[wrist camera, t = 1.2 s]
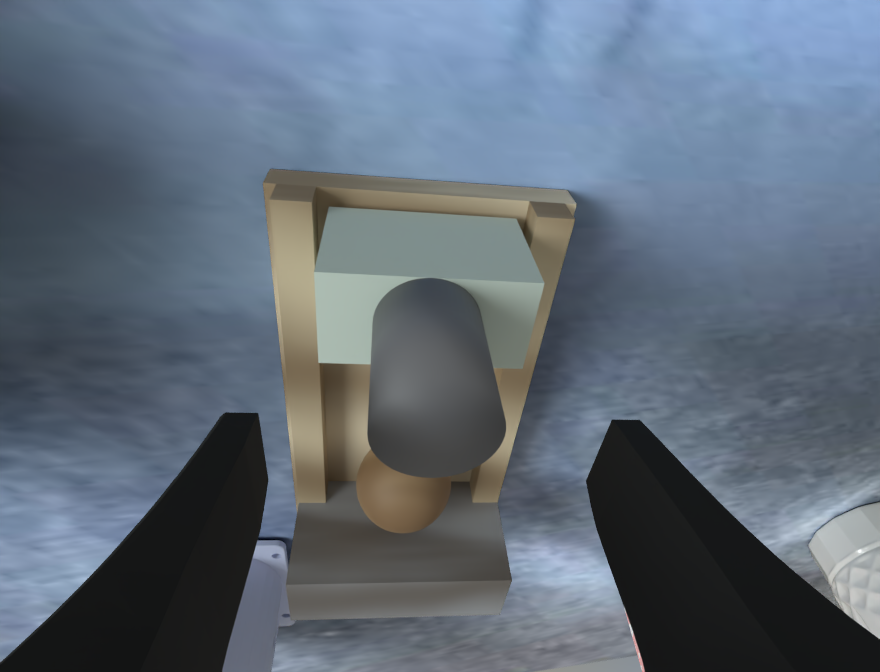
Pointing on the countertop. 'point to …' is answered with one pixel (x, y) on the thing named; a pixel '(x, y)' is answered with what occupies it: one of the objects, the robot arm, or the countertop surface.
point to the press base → (346, 414)
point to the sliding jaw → (427, 327)
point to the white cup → (853, 563)
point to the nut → (399, 496)
